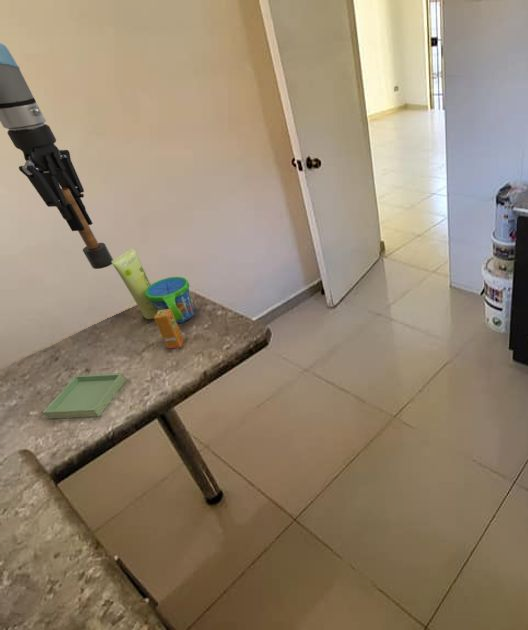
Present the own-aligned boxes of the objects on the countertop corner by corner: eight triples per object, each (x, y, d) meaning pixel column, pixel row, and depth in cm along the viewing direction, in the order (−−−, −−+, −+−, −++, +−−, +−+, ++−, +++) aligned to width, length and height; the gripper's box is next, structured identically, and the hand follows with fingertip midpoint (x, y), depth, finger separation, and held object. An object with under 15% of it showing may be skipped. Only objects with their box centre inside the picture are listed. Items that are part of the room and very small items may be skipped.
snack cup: (161, 307, 126) (146, 277, 120) (200, 298, 129) (187, 268, 123) (158, 338, 114) (142, 306, 108) (201, 326, 117) (187, 295, 111)
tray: (47, 418, 93) (42, 412, 92) (80, 381, 102) (75, 375, 101) (99, 416, 93) (94, 409, 91) (126, 379, 102) (122, 373, 101)
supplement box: (182, 347, 111) (166, 315, 105) (168, 349, 110) (151, 317, 104) (185, 339, 113) (170, 308, 107) (171, 341, 113) (156, 309, 107)
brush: (88, 269, 112) (44, 194, 100) (99, 260, 116) (58, 186, 104) (107, 268, 112) (65, 192, 100) (117, 259, 116) (79, 185, 104)
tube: (163, 317, 122) (133, 256, 110) (143, 323, 120) (110, 261, 109) (163, 307, 126) (134, 247, 115) (144, 312, 124) (112, 252, 113)
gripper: (17, 134, 87) (77, 240, 101) (67, 117, 100) (114, 213, 114) (-20, 136, 87) (46, 242, 101) (35, 119, 100) (86, 215, 114)
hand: (82, 227), depth 107 cm, fingers closed on brush, 3 cm apart
